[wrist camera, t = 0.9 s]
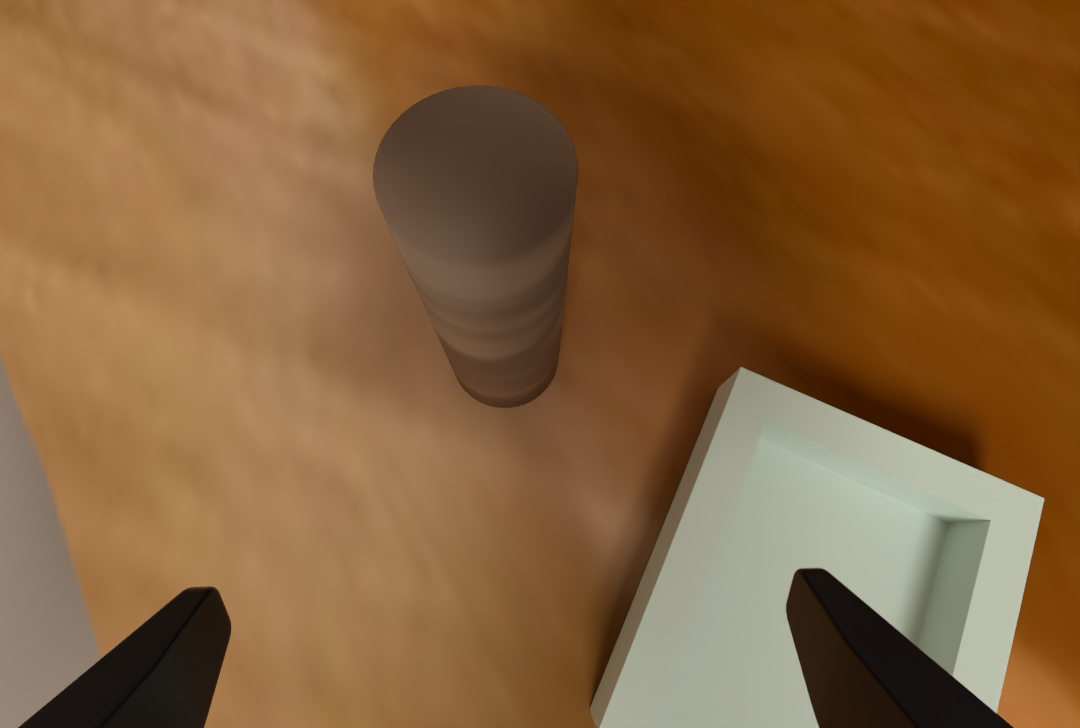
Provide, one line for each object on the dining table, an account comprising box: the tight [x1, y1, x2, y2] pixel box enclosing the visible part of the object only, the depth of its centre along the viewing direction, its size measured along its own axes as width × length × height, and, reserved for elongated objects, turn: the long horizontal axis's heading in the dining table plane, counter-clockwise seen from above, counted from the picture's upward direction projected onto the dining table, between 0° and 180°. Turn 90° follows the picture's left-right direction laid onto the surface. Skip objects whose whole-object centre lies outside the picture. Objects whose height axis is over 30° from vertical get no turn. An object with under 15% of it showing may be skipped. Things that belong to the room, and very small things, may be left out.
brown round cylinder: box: [373, 86, 578, 408], centre depth 19 cm, size 4×4×13 cm
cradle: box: [590, 367, 1044, 728], centre depth 21 cm, size 13×11×3 cm
